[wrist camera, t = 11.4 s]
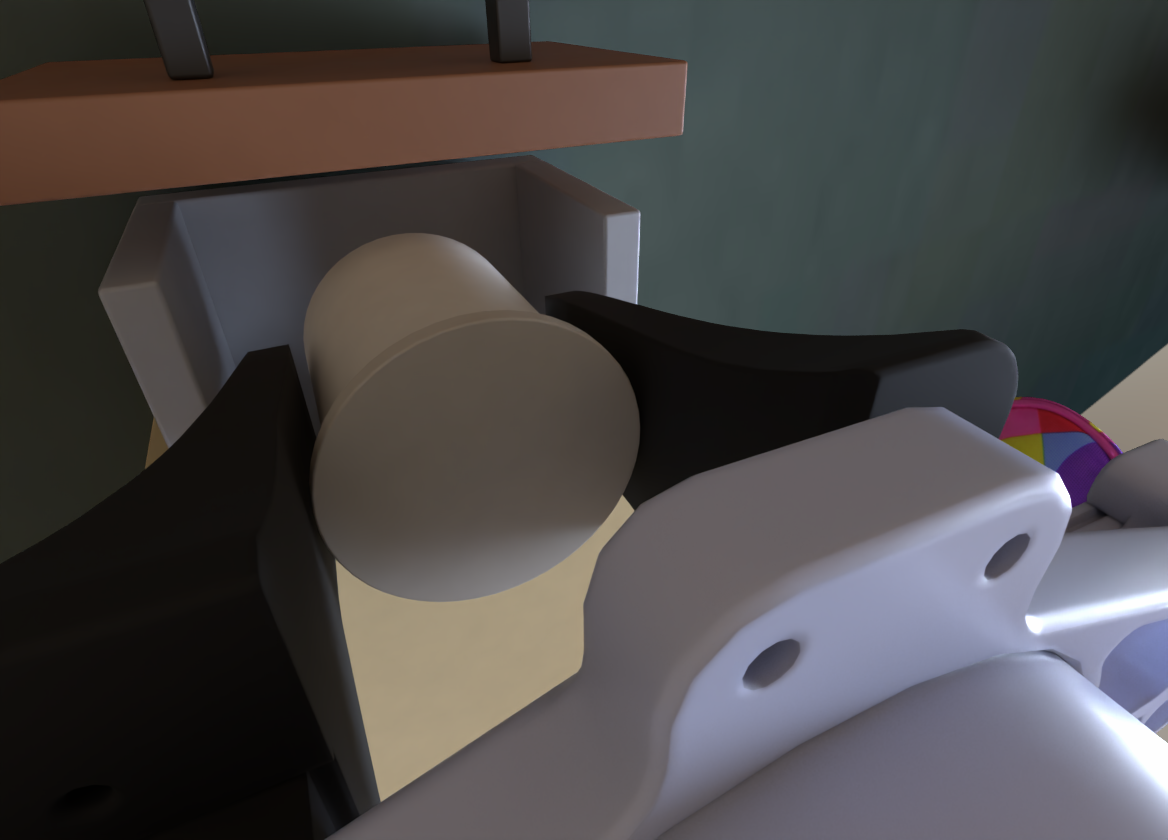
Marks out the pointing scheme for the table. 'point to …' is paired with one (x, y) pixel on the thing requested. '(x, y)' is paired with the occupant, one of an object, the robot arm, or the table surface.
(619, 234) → the drawer
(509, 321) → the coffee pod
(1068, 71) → the table surface
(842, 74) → the table surface
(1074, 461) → the pencil case
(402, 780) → the wooden drawer cabinet
